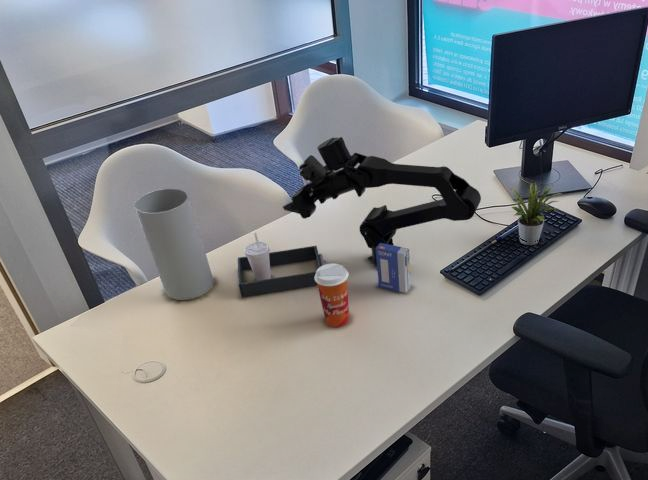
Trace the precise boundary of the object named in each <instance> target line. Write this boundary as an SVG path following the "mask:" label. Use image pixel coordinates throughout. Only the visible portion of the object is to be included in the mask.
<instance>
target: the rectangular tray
mask: <svg viewBox="0 0 648 480" xmlns="http://www.w3.org/2000/svg"><path fill="white" fill-rule="evenodd" d="M269 260H270V268H271V267H277V266H283V265H290V264H296V263H302V262H308V261H315V260H316V264H317V269H318V268H319V267H321V266H323V265H326V263H325V261H324V256H323V254H322V253H319V250H318V245H310V246H304V247H298V248H292V249H291V248H290V249H285V250H278V251H272V252H271V251H270V252H269ZM251 270H252V268H251V265H250V263H249V261H248V258H247V257H246V256H240V257H239V256H238V257H237V279H238V280H237V281H238V288H239V292H240V295H241V299H244V298H251V297H255V296H262V295H269V294H274V293H281V292H286V291H293V290H299V289H304V288H305V289H306V288H311V287H318V286H317V282H316V281H315V279H314V277H315V274H316V271H311V272H305V273H299V274H292V275H291V274H290V275H285V276H281V277H274V278H272V277H271V279H266V280H260V281H257V280H253V281H249V282H244V272H245V271H251ZM252 271H253V270H252Z"/></svg>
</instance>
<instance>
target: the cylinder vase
mask: <svg viewBox="0 0 648 480" xmlns="http://www.w3.org/2000/svg"><path fill="white" fill-rule="evenodd" d="M133 207H134V211H135V213H136V216H137V219H138V221H139V224H140V227H141V230H142V233H143V235H144V238H145V240H146V241H145V242H146V243H147V246H148V250H149V252H150V255H151V257H152V260H153V263H154V266H155V268H156V271H157V274H158V277H159V279H160V282H161V285H162V288H163V290H164V292H165V294H166V296H167V297H169V298H171V299H172V300H175V301H188V300H189V301H190V300H194V299H197V298H200V297H202V296H204V295H206V294H207V293H208V292H209V291H210V290H211V288H213V286H214V282H215V281H214V277H213V274H212V270H211V266H210V263H209V260H208V256H207V253H206V249H205V247H204V242H203V240H202V236H201V232H200V229H199V225H198V223H197V219H196V216H195V212H194V208H193V206H192V202H191V199H190V195H189V193H188V191H186V190H183V189H180V188H175V187H172V188H170V187H169V188H160V189H156V190H152V191H148V192H147V193H144V194H143V195H141V196H139V197H138V198H137V199H136V200H135V201H134V202H133Z"/></svg>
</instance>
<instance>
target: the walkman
mask: <svg viewBox="0 0 648 480" xmlns="http://www.w3.org/2000/svg"><path fill="white" fill-rule="evenodd" d="M376 260H377V267H376V270H377V281H378V288H381V289H385V290H389V291H394V292H397V293H403V294H407V292H408V291H410V289H411V288H412V285H411V284H412V282H411V264H410V248H409V247H405V246H399V245H389V244H384V243H380V244H379V245H378V246H377V247H376Z"/></svg>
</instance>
